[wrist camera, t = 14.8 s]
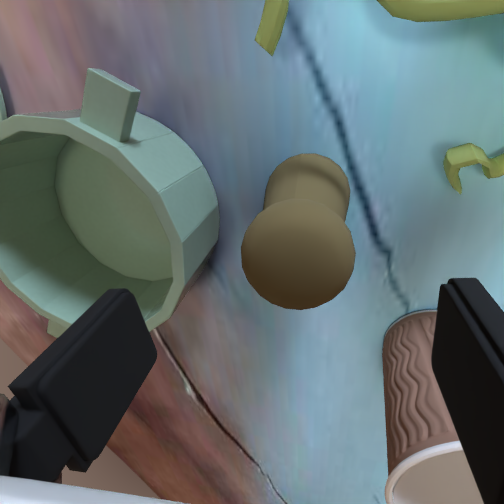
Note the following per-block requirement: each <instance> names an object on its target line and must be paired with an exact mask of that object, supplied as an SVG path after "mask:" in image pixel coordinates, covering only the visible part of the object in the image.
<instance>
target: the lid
mask: <svg viewBox="0 0 504 504" xmlns="http://www.w3.org/2000/svg"><path fill="white" fill-rule="evenodd" d="M5 119H7V114H6V107H5V103H4V99H3V95H2V91H1V88H0V122H1V121H3V120H5Z"/></svg>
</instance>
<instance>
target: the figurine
mask: <svg viewBox="0 0 504 504" xmlns="http://www.w3.org/2000/svg"><path fill="white" fill-rule="evenodd" d="M377 1H378V2H379V3H380V4H381V5H382V6H383V7H384V8H385V9H386V10H387V11H388V12H389V13H390V14H391V15H392V16H393V17H397V18H402V19H406V20H411V21H415V22H431V21H450V20H458V19H466V18H475V17H481V16H488V15H494V14H501V13H504V0H377ZM288 4H289V0H266V1H265V5H264V9H263V14H262V18H261V22H260V25H259V28H258V31H257V35H256V38H255V41H256V42H257V43H258V44H259V45H260V46H262V47H263V48H264V49H265V50H266V51H267V52H268V53H269V54H270V55H271V56H273V54H274V51H275V49H276V46H277V44H278V41H279V39H280V36H281V33H282V29H283V26H284V23H285V19H286V16H287V12H288ZM478 163H480V164H482V170H483V173H484V175H485V176H486V177H487V178H488V179H490V178H496V177H500V176H502V175H504V153H503V154H501V155H499V156H497V157H495V158H487V156H486V154H485V153H484V151H483V149H481V148H480V147H478V146H476V145H474V144H472V143H467V144H464V145H460V146H457V147H453V148H450V149H448V150H447V152H446V155H445V158H444V161H443V165H444V170H445V173H446V176H447V178H448V180H449V182H450V184H451V185H452V187H453V188H454V189H455V190H456V191H457V192H458V193H459V194H460V195H461V193H462V187H461V182H460V178H459V176H458V172H459V170H460V168H462V167H466V166H470V165H474V164H478Z"/></svg>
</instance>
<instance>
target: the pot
mask: <svg viewBox="0 0 504 504" xmlns="http://www.w3.org/2000/svg"><path fill="white" fill-rule="evenodd" d="M140 93H141V91H140V90H138V89H136V88H134V87H132V86H130V85H129V84H127V83H125V82H123V81H121V80H119V79H118V78H116V77H114V76H112V75H110V74H108V73H107V72H105V71H103V70H101V69H93V68H88V70H87V76H86V83H85V89H84V96H83V102H82V109H80V110H67V111H55V112H42V113H29V114H16V115H13V116H11V117H9V118H7V119H5V120H3V121H1V122H0V279H1V280H2V282H3V283H4V284H5V286H7V288H9V289H10V290H11V291H12V292H13V293H14V294H16V295H17V296H18V297H19V298H20V299H22V300H23V301H24V302H25V303H26V304H28V305H29V306H30V307H31V308H32V309H33V310H35V311H36V312H37V313H38V314H40V315H41V316H43V317H45V318H47V319H49V322H48V328H47V333H48V334H50V335H52V336H54V337H56V338H58V337H59V336H60V335H61V334H63V333H64V332H65V331H66V330H67V329H68V328H69V327H70V326H71V325H72V324H73V323H74V322H75V321H76V320H77V319H78V318H79V317H80V316H81V315H82V314H83V313H84V312H85V311H86V310H87V309H88V308H89V307H90V306H91V305H92V304H94V303H95V302H96V301H97V300H98V299H99V298H100V297H101V296H102V295H103V294H104V293H105V292H106V291H107V290H109V289H118V288H126V289H128V290H129V291H130V292H131V293H133V294H134V296H135V298H136V301H137V303H138V306H139V308H140V311H141V313H142V316H143V318H144V321H145V323H146V326H147V328H148V330H149V332H150V331H152V330H153V329H155V328H156V327H158V326H159V325H160V324H162V323H163V322H165V321H166V320H168V319H169V318H170V317H171V316H172V315H173V313H174V312H175V310H176V309H177V307H178V306H179V304H180V303H181V301H182V300H183V298H184V297H185V295H186V294H187V293H188V291H189V290H190V288H191V287H192V285H193V284H194V282H195V281H196V279H197V278H198V276H199V275H200V274H201V272H202V271H203V269H204V268H205V266H206V264H207V262H208V260H209V258H210V256H211V254H212V252H213V250H214V247H215V245H216V243H217V241H218V233H219V223H220V218H219V206H218V201H217V196H216V193H215V190H214V187H213V184H212V182H211V179H210V177H209V175H208V173H207V171H206V169H205V168H204V166H203V164H202V163H201V161H200V159H199V158H198V157H197V156H196V154H195V153H194V152H193V150H192V149H191V148H190V147H189V146H188V145H187V144H186V143H185V142H184V141H183V140H182V139H181V138H180V137H179V136H178V135H177V134H175V133H174V132H173V131H172V130H170V129H169V128H167V127H166V126H164V125H163V124H161V123H159V122H158V121H156V120H154V119H152V118H149V117H147V116H145V115H142V114H140V113H138V112H136V109H137V105H138V101H139V97H140Z"/></svg>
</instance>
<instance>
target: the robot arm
mask: <svg viewBox="0 0 504 504" xmlns="http://www.w3.org/2000/svg"><path fill="white" fill-rule="evenodd" d="M156 359H157V350H156V348H155V345H154V343H153V340H152V338H151V335H150V333H149V330H148V328H147V326H146V323H145V321H144V318H143V316H142V313H141V311H140V308H139V306H138V303H137V301H136V298H135V296H134V294H133V293H131V292H130V291H129V290H128V289H126V288H118V289H109V290H107V291H106V292H105V293H104V294H103V295H102V296H101V297H100V298H99V299H98V300H97V301H96V302H95V303H94V304H92V305H91V306H90V307H89V308H88V309H87V310H86V311H85V312H84V313H83V314H82V315H81V316H80V317H79V318H78V319H77V320H76V321H75V322H74V323H73V324H72V325H71V326H70V327H69V328H68V329H67V330H66V331H65V332H64V333H63V334H61V335H60V336H59V337H58V338H57V339H56V340H55V341H54V342H53V343H52V344H51V345H50V346H49V347H48V348H47V349H46V350H45V351H44V352H43V353H42V354H41V355H40V356H39V357H38V358H37V359H36V360H35V361H34V362H33V363H31V364H30V365H29V366H28V367H27V368H26V369H25V370H24V371H23V372H22V373H21V374H20V375H19V376H18V377H17V378H16V379H15V380H14V381H13V382H12V383H11V384H10V385H9V386H8V387H9V388H10V390H11V391H12V393H13V394H14V395H15V396H14V397H13V398H12V399H11V400H10V401H9V399H8V398H7V397H6V396H5V395H4V394H0V504H187V503H181V502H175V501H168V500H162V499H156V498H149V497H142V496H136V495H130V494H124V493H117V492H110V491H104V490H97V489H91V488H84V487H78V486H71V485H65V484H62V473H61V471H62V470H63V468H64V467H65V465H67V467H68V468H69V470H72V471H79V472H86V471H87V470H88V468H89V466H90V465H91V463H92V462H93V460H95V459H96V458H98V457H99V455H100V454H101V452H102V450H103V449H104V447H105V445H106V444H107V442H108V440H109V439H110V437H111V435H112V434H113V432H114V430H115V429H116V427H117V425H118V424H119V422H120V420H121V419H122V417H123V415H124V414H125V412H126V410H127V409H128V407H129V405H130V403H131V402H132V400H133V398H134V397H135V395H136V393H137V392H138V390H139V388H140V387H141V385H142V383H143V382H144V380H145V378H146V377H147V375H148V373H149V372H150V370H151V368H152V367H153V365H154V363H155V361H156ZM431 365H432V370H433V373H434V375H435V378H436V381H437V383H438V386H439V388H440V391H441V394H442V396H443V399H444V401H445V404H446V407H447V409H448V412H449V414H450V417H451V420H452V422H453V425H454V427H455V430H456V433H457V435H458V438H459V440H460V443H461V446H462V448H463V451H464V453H465V456H466V458H467V461H468V464H469V466H470V469H471V471H472V474H473V477H474V479H475V482H476V484H477V487H478V490H479V492H480V495H481V497H482V500H483V502H484V504H504V312H503V311H502V309H501V308H500V307H499V306H498V304H497V303H496V302H495V301H494V299H493V298H492V297H491V295H490V294H489V293H488V292H487V290H486V289H485V288H484V287H483V285H482V284H481V283H480V282H479V280H478V279H476V278H451V279H449V281H448V283H447V284H442V285H441V286H440V291H439V299H438V307H437V315H436V323H435V331H434V339H433V347H432V355H431Z"/></svg>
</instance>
